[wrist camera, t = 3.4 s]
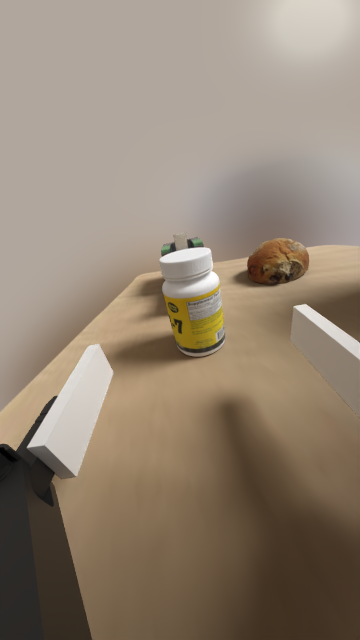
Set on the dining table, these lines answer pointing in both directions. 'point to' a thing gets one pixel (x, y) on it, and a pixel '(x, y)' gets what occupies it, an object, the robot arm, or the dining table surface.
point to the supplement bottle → (193, 301)
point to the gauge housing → (172, 248)
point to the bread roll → (278, 261)
